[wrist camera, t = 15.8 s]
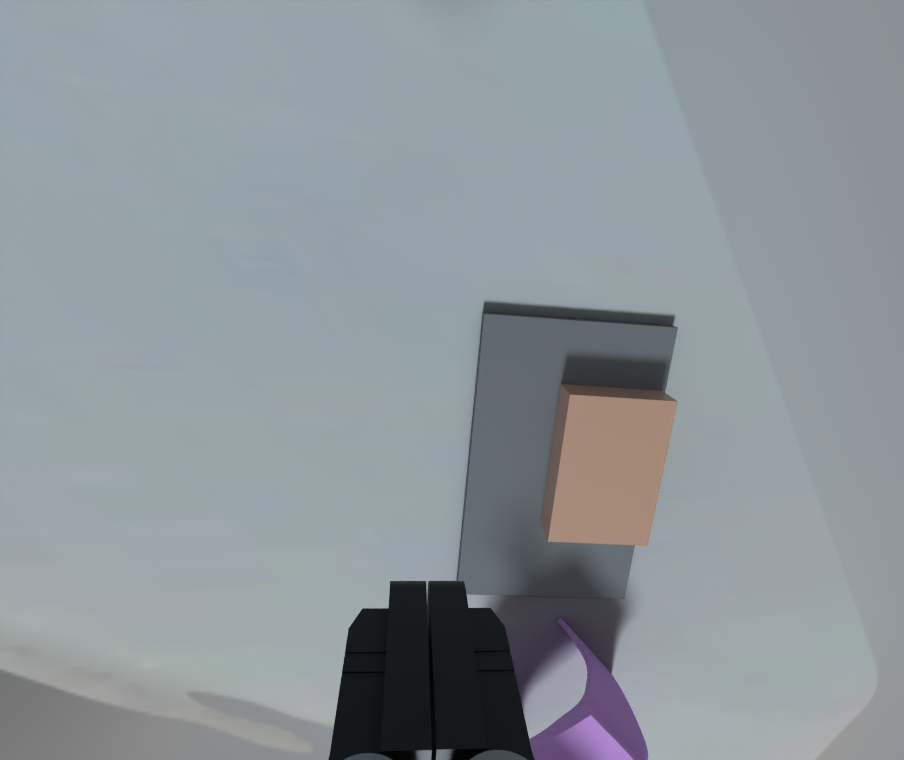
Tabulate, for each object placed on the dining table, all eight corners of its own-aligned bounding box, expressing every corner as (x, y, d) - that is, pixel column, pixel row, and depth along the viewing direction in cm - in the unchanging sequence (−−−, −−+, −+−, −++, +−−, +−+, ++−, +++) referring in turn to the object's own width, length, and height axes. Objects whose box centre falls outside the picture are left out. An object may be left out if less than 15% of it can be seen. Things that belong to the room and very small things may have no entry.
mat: (482, 312, 30) (484, 313, 30) (672, 325, 31) (677, 327, 30) (456, 587, 35) (456, 593, 35) (620, 593, 36) (624, 599, 35)
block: (570, 394, 29) (677, 401, 30) (560, 384, 31) (661, 390, 32) (547, 541, 32) (647, 545, 32) (540, 523, 33) (634, 527, 34)
